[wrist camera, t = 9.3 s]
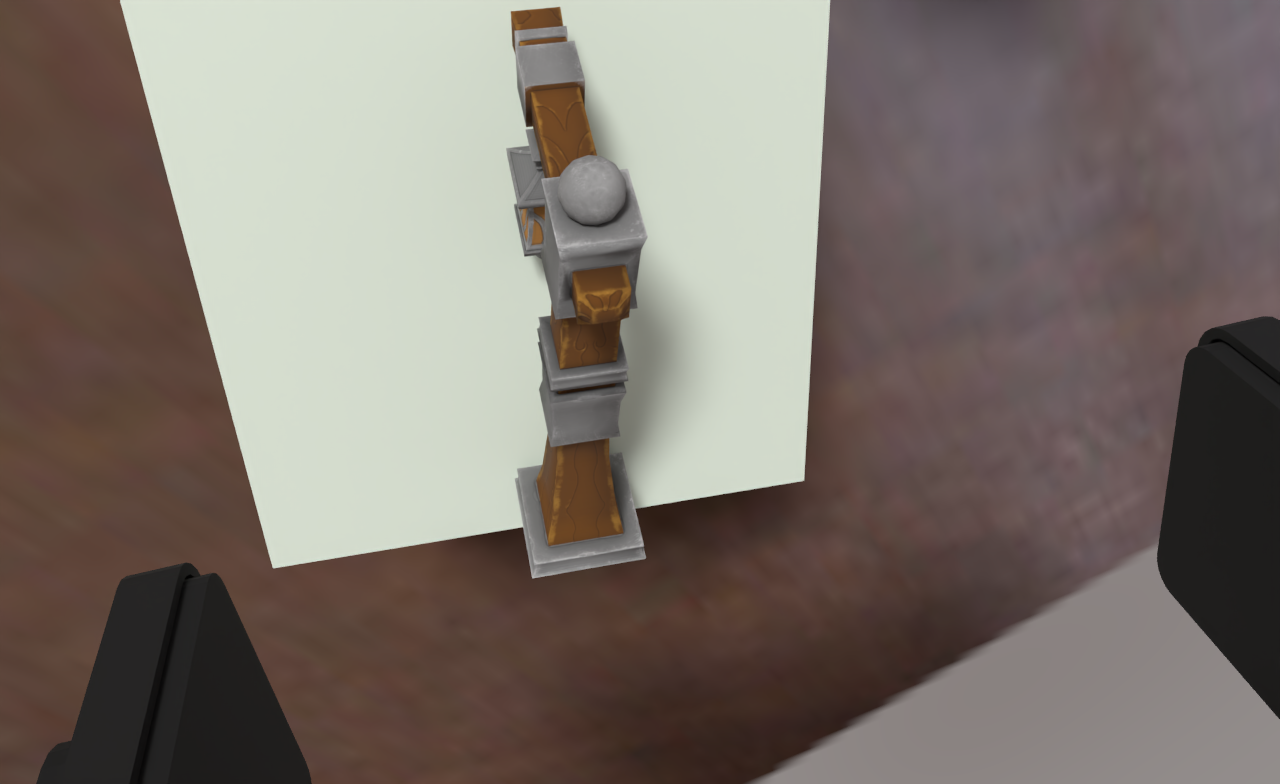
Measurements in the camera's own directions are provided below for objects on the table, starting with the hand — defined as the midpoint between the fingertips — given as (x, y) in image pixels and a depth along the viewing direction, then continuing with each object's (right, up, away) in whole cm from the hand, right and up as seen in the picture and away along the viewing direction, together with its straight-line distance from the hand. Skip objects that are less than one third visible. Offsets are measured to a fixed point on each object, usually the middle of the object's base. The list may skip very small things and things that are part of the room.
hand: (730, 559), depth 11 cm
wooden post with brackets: (-2, +3, +6) cm, 7 cm away
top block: (-4, +6, +10) cm, 12 cm away
